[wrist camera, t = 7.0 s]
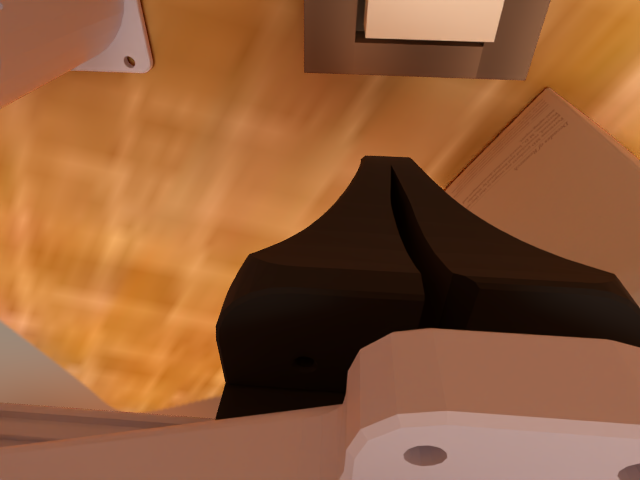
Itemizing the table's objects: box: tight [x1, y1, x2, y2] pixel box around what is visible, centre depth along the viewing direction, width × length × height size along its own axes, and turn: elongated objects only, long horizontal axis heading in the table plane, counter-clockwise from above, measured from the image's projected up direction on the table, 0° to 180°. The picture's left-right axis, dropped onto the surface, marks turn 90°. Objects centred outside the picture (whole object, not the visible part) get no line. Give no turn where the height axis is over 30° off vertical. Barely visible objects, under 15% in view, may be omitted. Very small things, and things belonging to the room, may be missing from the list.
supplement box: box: [445, 88, 640, 307], centre depth 18 cm, size 7×7×13 cm
